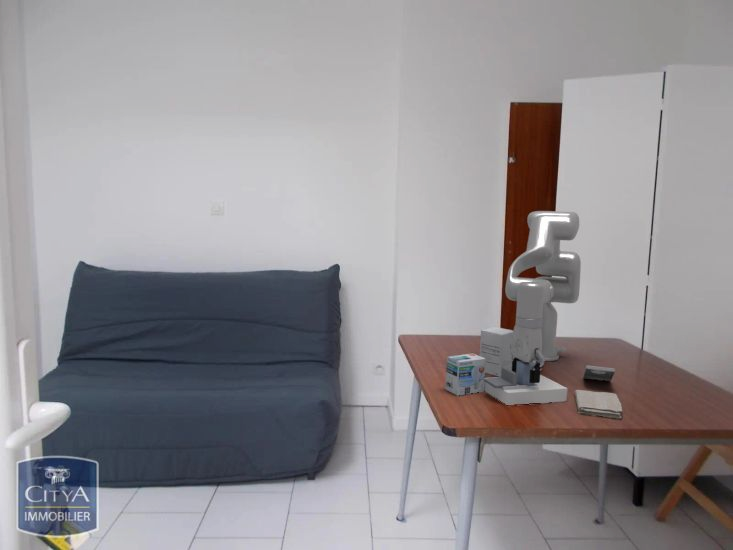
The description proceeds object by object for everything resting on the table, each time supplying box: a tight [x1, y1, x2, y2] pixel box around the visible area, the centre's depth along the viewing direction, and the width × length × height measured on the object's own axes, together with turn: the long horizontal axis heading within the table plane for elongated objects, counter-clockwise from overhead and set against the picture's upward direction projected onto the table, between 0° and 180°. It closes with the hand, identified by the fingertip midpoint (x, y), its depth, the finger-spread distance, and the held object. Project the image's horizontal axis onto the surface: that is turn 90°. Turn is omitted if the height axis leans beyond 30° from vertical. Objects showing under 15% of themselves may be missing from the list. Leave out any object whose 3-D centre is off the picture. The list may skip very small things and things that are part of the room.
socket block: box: [484, 374, 568, 406], centre depth 161 cm, size 20×14×5 cm
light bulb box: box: [445, 353, 486, 397], centre depth 164 cm, size 11×7×11 cm, turn 118°
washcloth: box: [574, 389, 623, 420], centre depth 154 cm, size 12×18×3 cm, turn 163°
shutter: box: [484, 367, 517, 388], centre depth 158 cm, size 7×7×4 cm
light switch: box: [582, 365, 616, 382], centre depth 173 cm, size 8×6×14 cm
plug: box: [516, 361, 536, 386], centre depth 161 cm, size 4×4×12 cm
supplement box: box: [479, 326, 514, 377], centre depth 184 cm, size 9×9×15 cm
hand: (525, 377), depth 161 cm, fingers open, 9 cm apart
